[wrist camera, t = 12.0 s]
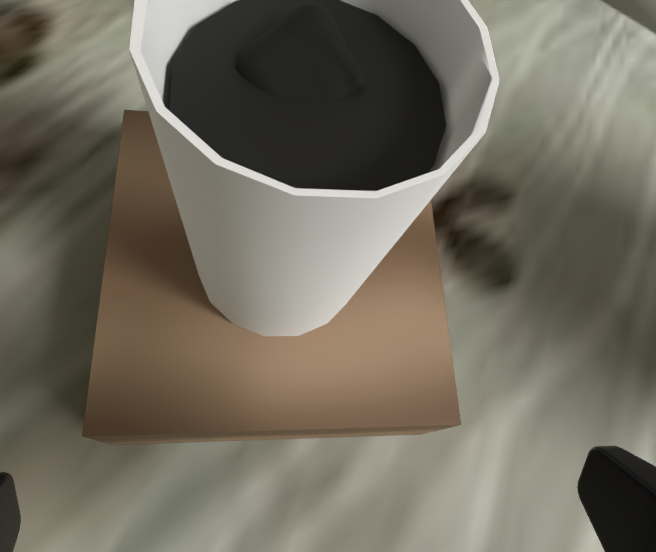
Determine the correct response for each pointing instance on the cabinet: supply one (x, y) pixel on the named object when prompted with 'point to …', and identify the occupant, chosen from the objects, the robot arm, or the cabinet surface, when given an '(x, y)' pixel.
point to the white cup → (307, 137)
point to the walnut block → (255, 337)
